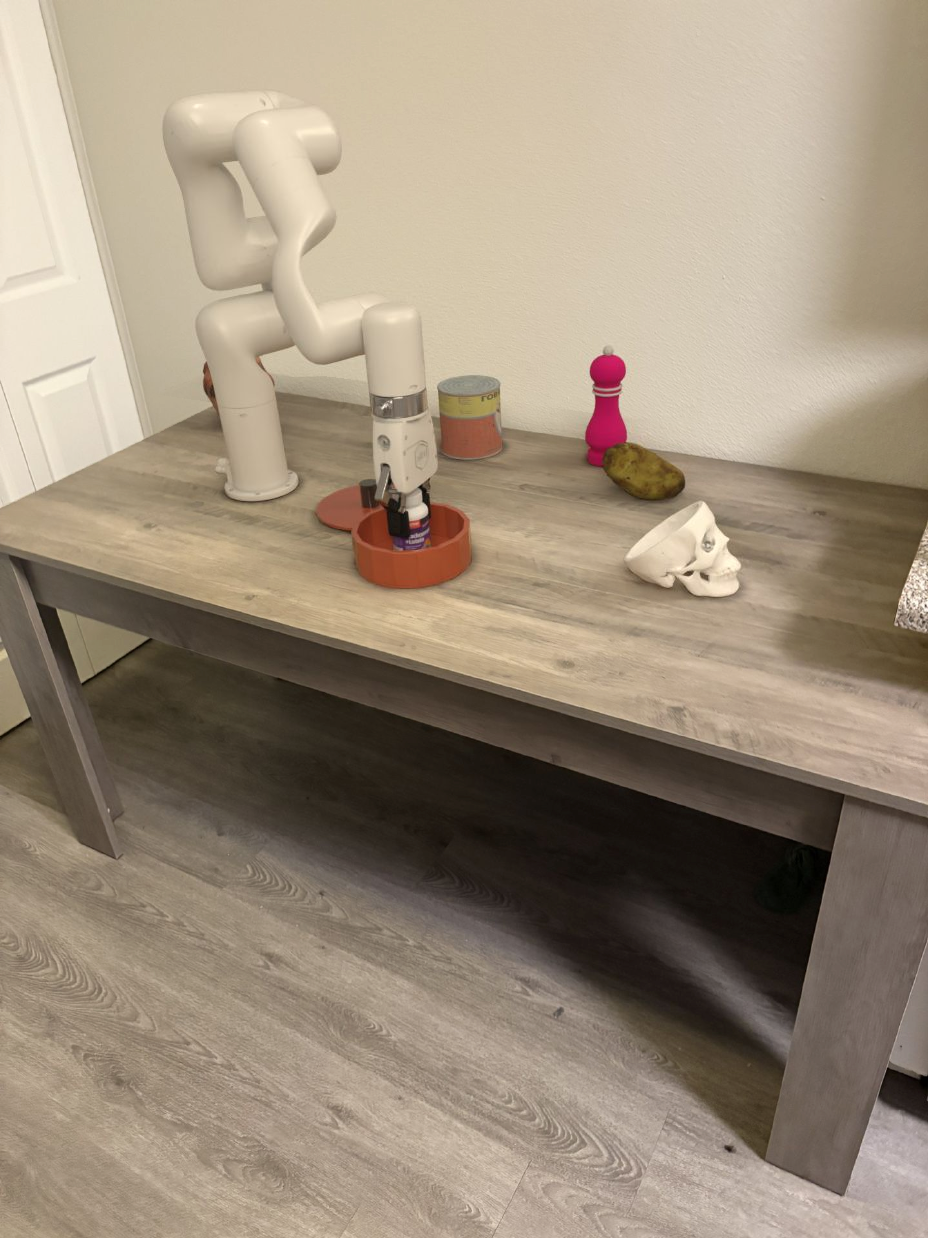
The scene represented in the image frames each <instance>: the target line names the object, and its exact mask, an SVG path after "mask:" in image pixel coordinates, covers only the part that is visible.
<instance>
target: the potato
mask: <svg viewBox="0 0 928 1238" xmlns="http://www.w3.org/2000/svg"><path fill="white" fill-rule="evenodd" d="M602 464H603V471H604V473H605V474H606V476H607V477H608V478H609V479H610V480H611V481H612V482H613V484H615V485H616V486H617V487H619V488H622V489H623V490H625V491H626V492H627V493H629V494H630V495H632V496H634V497H636V498H638V499H644V500H666V499H669V498H674V497H676V496H678V495H679V494H681V493H682V492H683V491H684V490H685V488H686V477H685V474H684V473H683V471H682V470H681V469H679V468H678V467H677V466H675V465H674V464H673V463H671V462H669V461H668V460H666V459H664V458H662V457H660V456H659V455H657V454H656V453H654V452H652V451H650V450H649V449H647V448H645V447H644V446H642V445H640V444H638V443H636V442H635V443H634V442H627V441H626V442H624V443H617V444H616V445H614V446H612V447H610V448H609V449H608V450H607V451H606V452H605V453H604V455H603V457H602Z"/></svg>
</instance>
